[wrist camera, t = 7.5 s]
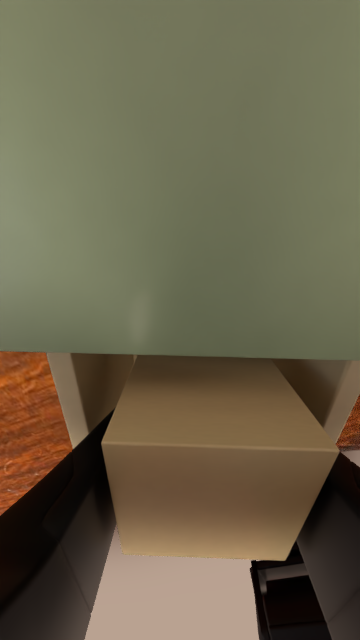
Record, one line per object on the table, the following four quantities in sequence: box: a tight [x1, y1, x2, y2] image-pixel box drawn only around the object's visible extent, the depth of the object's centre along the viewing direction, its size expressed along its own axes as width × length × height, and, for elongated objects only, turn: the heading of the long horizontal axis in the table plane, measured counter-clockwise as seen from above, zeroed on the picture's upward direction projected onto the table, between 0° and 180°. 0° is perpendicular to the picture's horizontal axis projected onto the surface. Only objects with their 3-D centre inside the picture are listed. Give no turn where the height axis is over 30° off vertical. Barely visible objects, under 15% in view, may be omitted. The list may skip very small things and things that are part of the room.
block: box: [101, 355, 339, 561], centre depth 7 cm, size 5×5×5 cm
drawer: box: [46, 352, 360, 449], centre depth 11 cm, size 18×11×8 cm, turn 179°
